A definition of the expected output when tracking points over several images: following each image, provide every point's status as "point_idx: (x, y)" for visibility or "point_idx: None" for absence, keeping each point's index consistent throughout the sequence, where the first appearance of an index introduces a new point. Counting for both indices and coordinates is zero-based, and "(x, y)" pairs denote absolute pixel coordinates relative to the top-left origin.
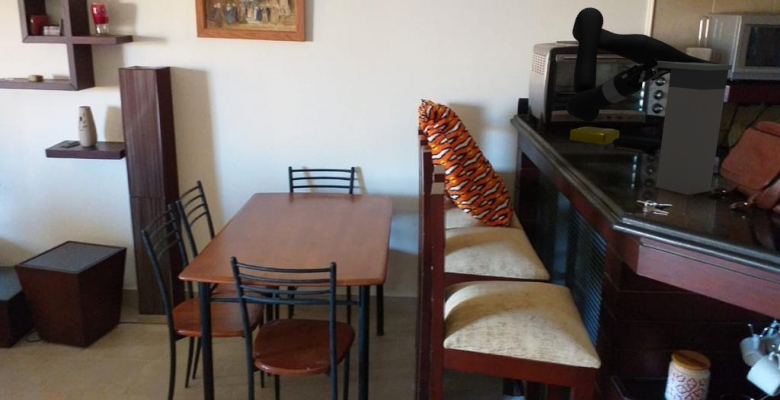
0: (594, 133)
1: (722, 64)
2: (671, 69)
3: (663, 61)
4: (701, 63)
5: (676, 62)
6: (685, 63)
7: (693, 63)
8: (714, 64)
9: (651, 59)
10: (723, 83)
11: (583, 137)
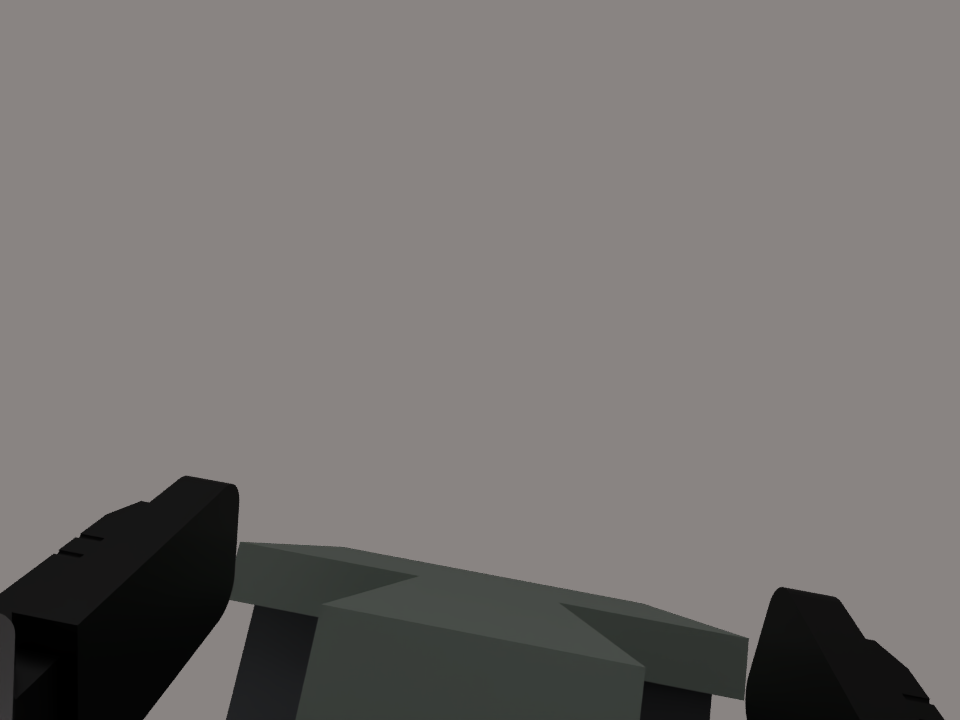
0: None
1: (332, 547)
2: (709, 712)
3: (400, 597)
4: (358, 557)
5: (475, 591)
6: (566, 599)
7: (460, 578)
8: (409, 562)
9: (855, 630)
10: None
11: None
